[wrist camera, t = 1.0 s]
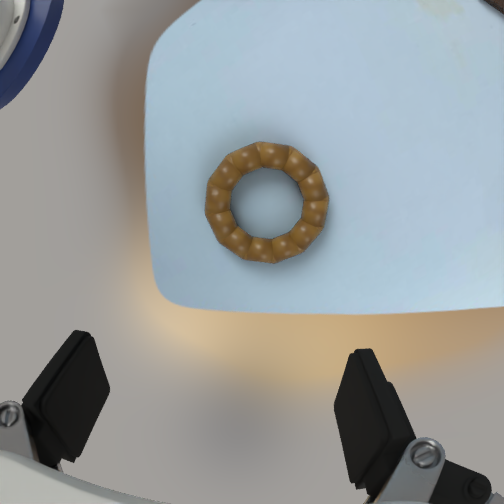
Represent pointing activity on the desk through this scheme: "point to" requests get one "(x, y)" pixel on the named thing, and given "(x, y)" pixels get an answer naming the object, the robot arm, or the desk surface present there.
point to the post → (497, 4)
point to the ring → (274, 159)
